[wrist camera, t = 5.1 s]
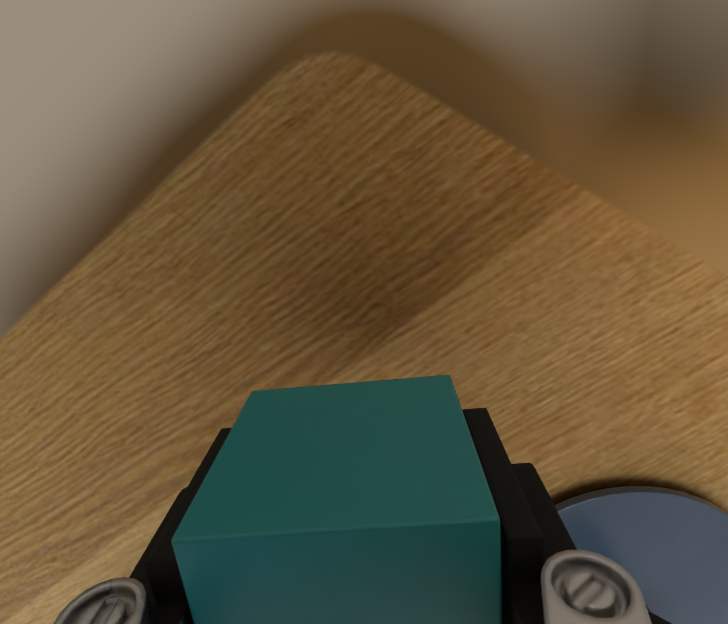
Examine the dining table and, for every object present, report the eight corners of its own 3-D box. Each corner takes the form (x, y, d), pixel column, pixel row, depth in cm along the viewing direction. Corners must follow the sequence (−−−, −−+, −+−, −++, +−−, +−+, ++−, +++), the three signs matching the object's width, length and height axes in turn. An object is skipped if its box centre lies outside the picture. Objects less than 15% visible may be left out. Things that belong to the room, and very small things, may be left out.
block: (251, 389, 11) (168, 540, 6) (450, 373, 11) (501, 518, 6) (281, 549, 12) (229, 761, 8) (459, 537, 12) (506, 750, 8)
